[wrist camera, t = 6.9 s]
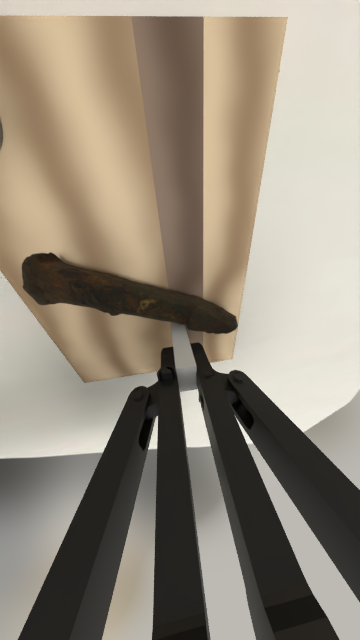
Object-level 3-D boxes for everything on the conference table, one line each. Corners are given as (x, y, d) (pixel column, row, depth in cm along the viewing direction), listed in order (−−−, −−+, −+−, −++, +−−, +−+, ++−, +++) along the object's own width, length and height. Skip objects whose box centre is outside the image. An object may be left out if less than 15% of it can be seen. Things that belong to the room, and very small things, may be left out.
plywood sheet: (85, 381, 20) (84, 382, 20) (-182, 21, 6) (-192, 14, 6) (231, 358, 21) (232, 359, 21) (284, 22, 8) (287, 16, 7)
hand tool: (59, 292, 13) (13, 312, 9) (54, 250, 11) (-4, 252, 7) (217, 329, 18) (233, 352, 14) (231, 303, 16) (254, 322, 12)
